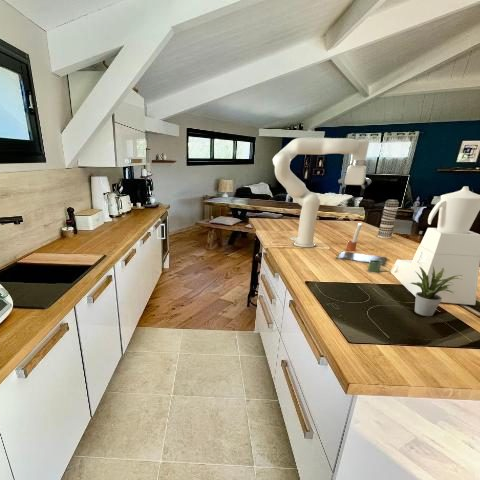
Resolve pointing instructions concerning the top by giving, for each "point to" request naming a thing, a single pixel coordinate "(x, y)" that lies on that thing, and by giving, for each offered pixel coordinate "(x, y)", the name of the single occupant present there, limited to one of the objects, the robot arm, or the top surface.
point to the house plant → (430, 292)
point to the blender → (448, 250)
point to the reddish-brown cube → (351, 246)
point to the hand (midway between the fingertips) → (351, 195)
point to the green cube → (374, 266)
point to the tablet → (360, 257)
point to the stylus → (356, 232)
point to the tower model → (388, 218)
